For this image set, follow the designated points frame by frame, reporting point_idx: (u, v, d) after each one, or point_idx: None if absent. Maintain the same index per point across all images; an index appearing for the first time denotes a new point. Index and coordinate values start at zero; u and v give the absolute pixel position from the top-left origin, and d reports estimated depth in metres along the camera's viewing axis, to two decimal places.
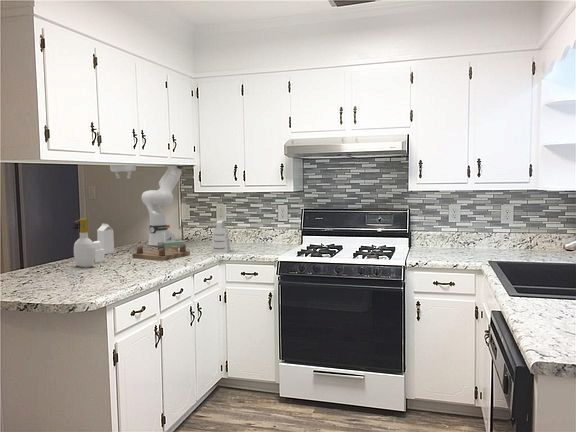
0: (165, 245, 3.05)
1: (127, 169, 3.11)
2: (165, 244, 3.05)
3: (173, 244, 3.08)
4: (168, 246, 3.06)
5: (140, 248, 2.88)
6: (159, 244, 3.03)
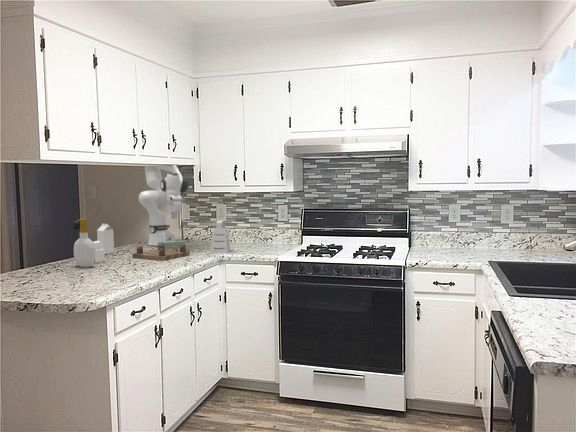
0: (165, 245, 3.05)
1: None
2: (165, 244, 3.05)
3: (173, 244, 3.08)
4: (168, 246, 3.06)
5: (140, 248, 2.88)
6: (159, 244, 3.03)
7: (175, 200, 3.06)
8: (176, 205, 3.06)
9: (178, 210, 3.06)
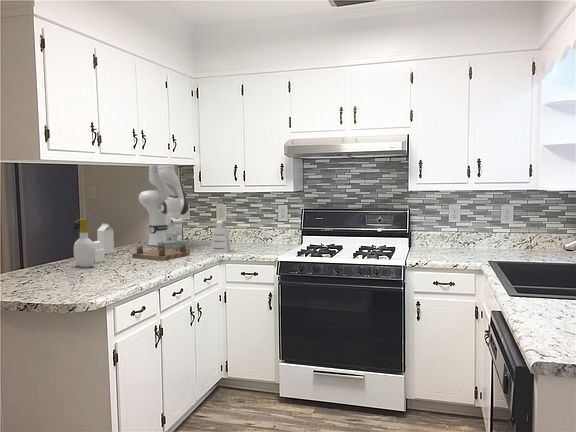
0: (165, 245, 3.05)
1: None
2: (165, 244, 3.05)
3: (173, 244, 3.08)
4: (168, 246, 3.06)
5: (140, 248, 2.88)
6: (159, 244, 3.03)
7: (176, 223, 3.07)
8: (177, 228, 3.07)
9: (179, 233, 3.07)
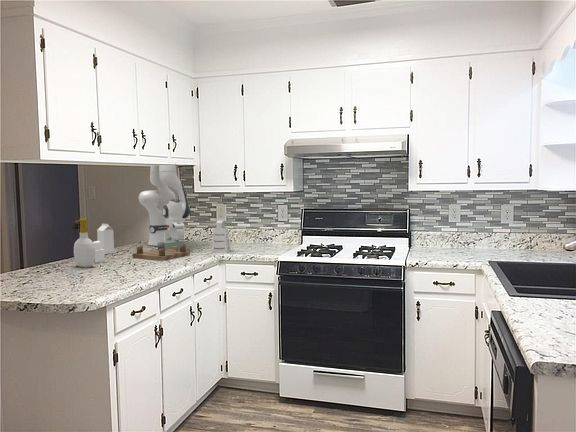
0: (165, 245, 3.05)
1: None
2: (165, 244, 3.05)
3: (173, 244, 3.08)
4: (168, 246, 3.06)
5: (140, 248, 2.88)
6: (159, 244, 3.03)
7: (177, 227, 3.05)
8: (178, 233, 3.04)
9: (180, 238, 3.05)
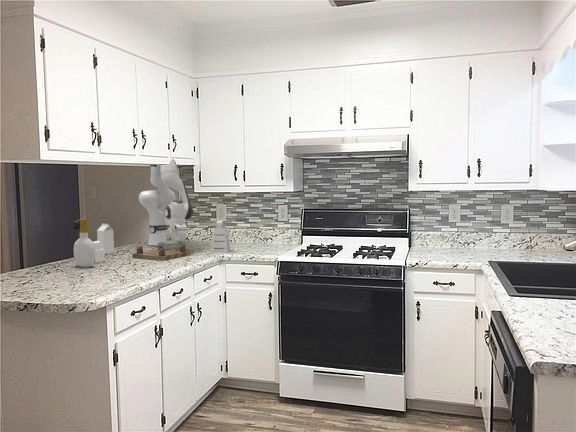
0: (163, 245, 3.04)
1: None
2: (163, 244, 3.04)
3: (171, 245, 3.03)
4: (166, 247, 3.04)
5: (140, 248, 2.88)
6: (158, 244, 3.04)
7: (180, 229, 2.99)
8: (180, 235, 2.98)
9: (183, 239, 2.99)
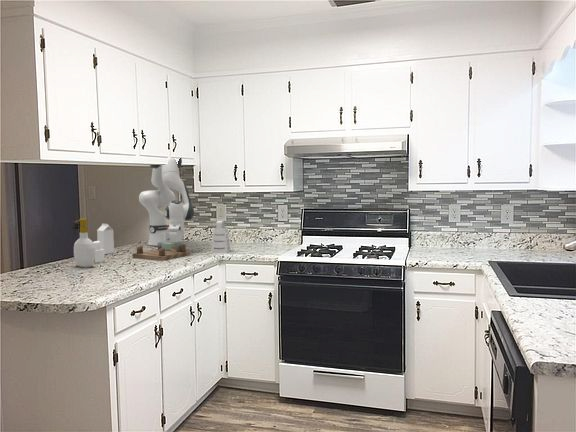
0: (162, 246, 3.03)
1: (182, 237, 3.08)
2: (162, 245, 3.03)
3: (168, 246, 3.00)
4: (164, 247, 3.02)
5: (140, 248, 2.88)
6: None
7: (171, 230, 2.93)
8: (170, 236, 2.92)
9: (173, 241, 2.92)
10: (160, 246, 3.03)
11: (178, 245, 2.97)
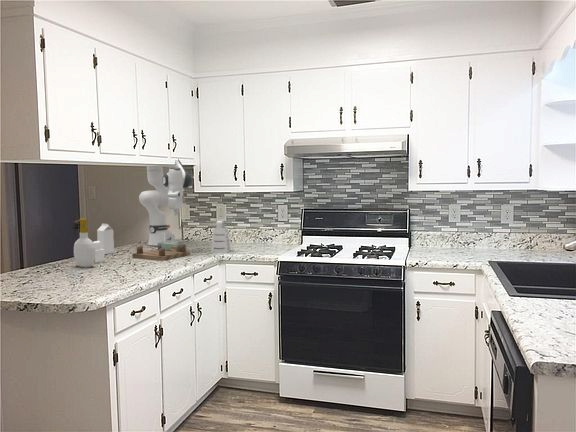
0: (162, 246, 3.03)
1: (181, 205, 3.10)
2: (162, 245, 3.03)
3: (168, 246, 3.00)
4: (164, 247, 3.02)
5: (140, 248, 2.88)
6: None
7: (170, 196, 2.95)
8: (170, 202, 2.94)
9: (172, 206, 2.94)
10: (160, 246, 3.03)
11: (178, 245, 2.97)
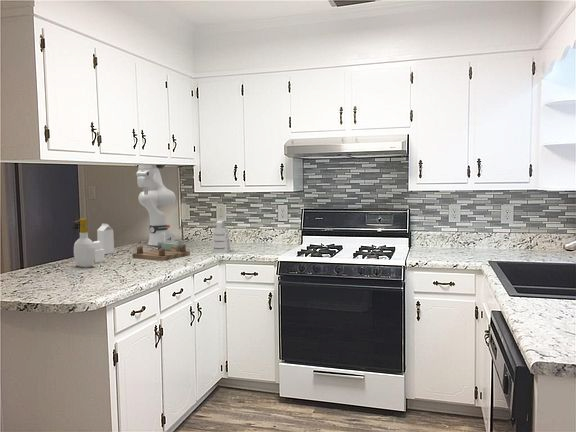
0: (162, 246, 3.03)
1: (151, 185, 3.15)
2: (162, 245, 3.03)
3: (168, 246, 3.00)
4: (164, 247, 3.02)
5: (140, 248, 2.88)
6: None
7: (139, 175, 3.00)
8: (138, 180, 3.00)
9: (140, 185, 2.99)
10: (160, 246, 3.03)
11: (178, 245, 2.97)
